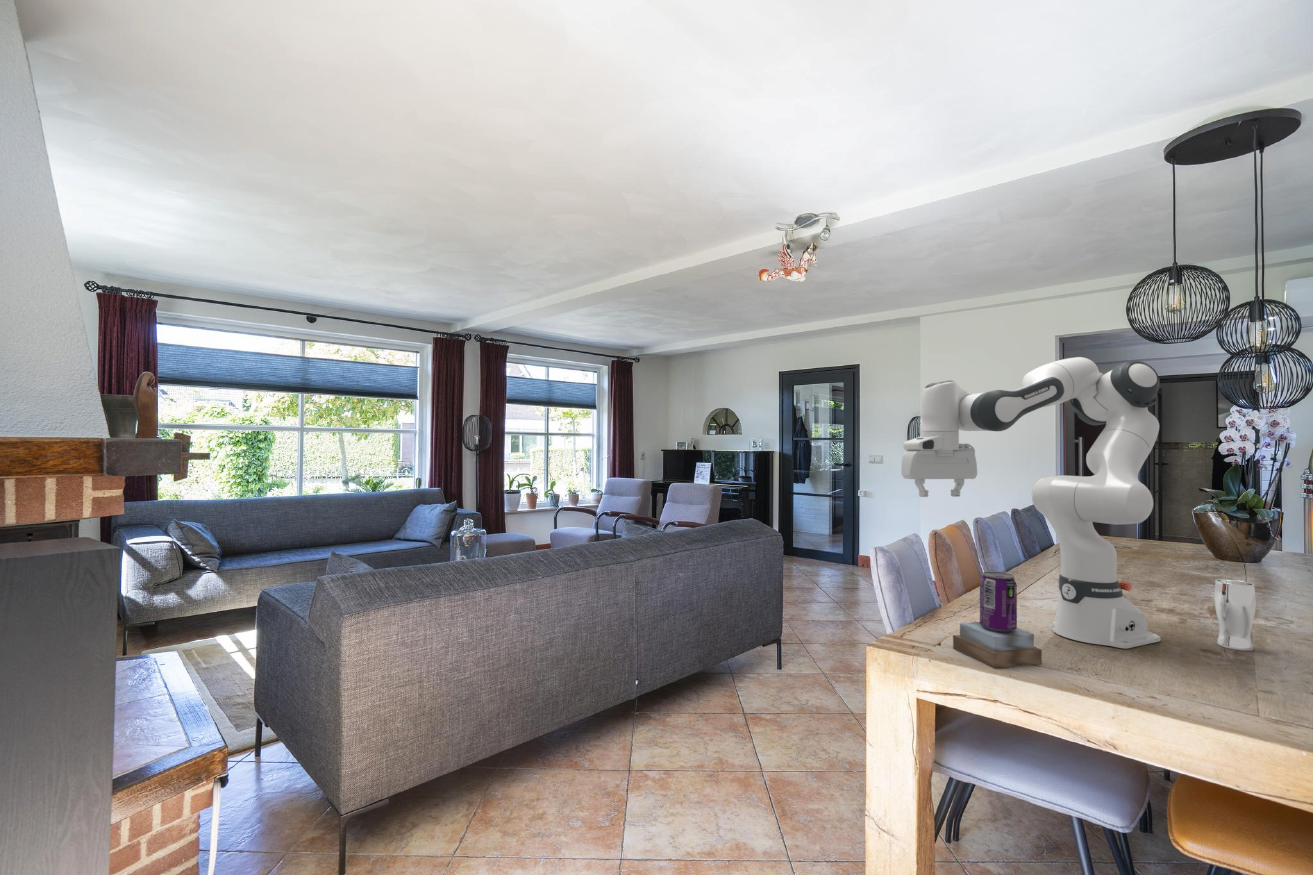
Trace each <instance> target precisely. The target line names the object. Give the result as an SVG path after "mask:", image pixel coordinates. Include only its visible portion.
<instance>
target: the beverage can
mask: <svg viewBox="0 0 1313 875" xmlns="http://www.w3.org/2000/svg"><path fill="white" fill-rule="evenodd" d="M981 574H982V576H981V578H980V580H979V622H980V624H981V625H982V626H984V627H985V628H987V629H989V630H992V631H996V632H1010V631H1013V630H1015V629H1017V628H1018V590H1017V589H1018V584H1017V582H1016V580H1015V575H1014V574H1011V573H1008V572H1002V571H983V572H982V573H981Z"/></svg>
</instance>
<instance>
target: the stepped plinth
mask: <svg viewBox="0 0 1313 875" xmlns="http://www.w3.org/2000/svg"><path fill="white" fill-rule="evenodd" d="M1034 641H1035V634H1034V633H1031V632H1029V631H1026V630H1023V629H1021V628H1018V627H1017V629H1015V630H1013V631H1010V632H996V631H992V630H989V629H987V628H985V627H984V626H982V625H981V624H980V621H974V622H960V623H959V634H954V635H952V649H953V650H955V651H957V652H960V653H962V654H963V655H966V656H968V657H970V658H972V659H974V660H977V661H978V662H981V663H982V664H984V665H987V666H989V667H991V668H993V669H997V668H1008V667H1009V668H1010V667H1019V666H1020V667H1021V666H1031V665H1040V664H1041V665H1042V663H1043V661H1042V658H1043V657H1042V656H1043V652H1042V651H1043V650H1042V649H1041V648H1039V647H1036V646H1035V642H1034Z"/></svg>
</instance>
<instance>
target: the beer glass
mask: <svg viewBox="0 0 1313 875" xmlns="http://www.w3.org/2000/svg"><path fill="white" fill-rule="evenodd" d="M1213 592H1214V593H1213V602H1214V607H1215V608H1214V609H1215V614H1216V618H1217V622H1218V623H1217V624H1218V636H1217V640H1216V644H1217V645H1218V646H1220V647H1222V648H1225V649H1230V650H1236V651H1243V652H1251V651H1252V652H1253V650H1254V646H1253V643H1252V636H1251V633H1252V626H1253V622H1254V618H1255V613H1256V608H1257V607H1256V606H1257V604H1256V603H1257V598H1256V589H1255V584H1254V583H1252V582H1249V581H1245V580H1238V579H1230V578H1228V579H1227V578H1217V579H1215V580H1214V591H1213Z"/></svg>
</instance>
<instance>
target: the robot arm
mask: <svg viewBox="0 0 1313 875" xmlns="http://www.w3.org/2000/svg"><path fill="white" fill-rule="evenodd" d="M1159 390H1160V377H1159V374H1158V373H1157V371H1156V369H1155V368H1154V367H1152V366H1151V365H1149V364H1148V363H1147V362H1144V361H1140V360H1130V361H1126V362H1122V363H1120V364H1119V365H1116V366H1115V367H1114V368H1112V369H1111V370H1110V371H1108V372H1106V373H1104V374H1103V372H1100V371H1099V367H1098V365H1096V363H1095V362H1094V361H1093V360H1091V359H1089V358H1087V357H1082V356H1077V357H1068V358H1063V359H1059V360H1055V361H1052V362H1048V363H1046V364H1043V365H1040V366H1038V367H1036V368H1034V369H1032V370H1030V371H1029V372H1027V373H1026V374H1024V377H1023V379H1022V383H1021V387H1019V388H1017V389H1015V390H1011V391H1010V390H1003V389H994V390H990V391H985V392H978V393H973V392H970V391H968V390H966V389H964V388H963V387H961V386H960V385H958V383H957V382H956V381H955V380H950V379H949V380H943V381H937V382H931V383H929V384H927V385H926V386H924V388H923V390H922V391H923V392H922V396H921V404H920V406H921V408H920V412H921V414H920V415H921V419H922V428H921V432H920V434H921V435H920V436H918V437H915V438H912V439H908V440H906V441H904V442H903V450H905V451H904V452H903V453H902V456H901V470H900V472H901V475H902V477H903V479H906V480H914V484H915V486H916V487H917V489H918V496H919V498H928V497H929V490H928V489H926V488H925V485H924V484H925V483H926V480H953V483H955V485H954V486H953V488H952V489H950V496H951V497H954V498H955V497H958V498H959V497H960V496H961V490H962V488H963V487H964V484H965V480H974V479H976V477H977V476H978V465H977V457H976V450H975V447H973V445H971V444H970V443H960V437H959V436H960V433H959V432H960V431H964V432H979V431H983V432H985V431H987V432H988V431H989V432H1003V431H1006V430H1008V429H1010V428H1011V427H1012V426H1014V425H1015V423H1017V422H1018V421H1019V419H1021V418H1022V417H1023V416H1026V414H1027V415H1028V414H1029V413H1031V412H1034V411H1036V410H1039V409H1041V408H1044V407H1045V408H1047V407H1051V406H1055V405H1059V404H1062V403H1065V402H1067V401H1069V405H1070V406H1071V407H1072V410H1073V412H1074V413H1075V415H1076V416H1077V417H1078V418H1079V419H1080V420H1081V421H1083V422H1084V423H1086V424H1087V425H1090V426H1100V425H1105V427H1104V428H1103V429H1102V431H1101V433H1099V435H1098V436H1097V438H1096V439H1095V441H1094V442H1093V444H1092V445H1091V447H1090V448H1089V450H1088V452H1087V453H1086V458H1085V461H1086V466H1087V468H1088V469H1089V471H1091V473H1092V474H1093V475H1091V476H1083V475H1082V476H1081V475H1064V474H1063V475H1062V474H1061V475H1060V474H1059V475H1052V476H1047V477H1042V478H1039V480H1037V481H1036V483H1035V484H1034V486H1033V487H1032V492H1031V501H1032V503H1033V506H1034V507H1035V509H1036V511H1038V513H1040V514H1042V516H1044V517H1045V518H1046V519H1047V521H1048V522H1049V524H1050V525H1051V527H1052V528H1053V530H1054V532H1055V535H1056V537H1057V540H1058V544H1059V553H1060V574H1059V576H1058V580H1057V582H1058V589H1059V592H1060V593H1059V594H1058V596H1057V604H1056V612H1055V613H1056V614H1055V620H1053V621H1052V626H1053V628H1052V631H1053V632H1054V633H1056V635H1059V636H1062V637H1064V638H1067V639H1070V640H1074V641H1078V642H1082V643H1087V644H1092V645H1093V644H1094V645H1100V646H1101V645H1102V646H1108V647H1109V646H1110V647H1114V648H1119V649H1126V650H1127V649H1131V648H1136V647H1140V646H1144V645H1149V644H1154V643H1159V642H1161V636H1159V635H1157V634H1156V633H1153V632H1151V631H1148V621H1147V617H1146V615H1145V614H1144V612H1143V611H1142V610H1140V609H1139V608H1138V607H1137V606H1136V605H1134V604H1133V603H1132V602H1130V601H1129V600H1128V599H1126V597H1124V593H1123V590H1124V591H1126V592H1130V591H1131V590H1132V589H1133V586H1132V584H1131V582H1128V581H1127V582H1125V581H1123V580H1122V581H1119V580H1117V577H1118V573H1117V572H1118V568H1117V565H1118V563H1117V561H1118V560H1117V559H1118V558H1117V557H1118V555H1117V551H1116V550H1117V549H1116V548H1115V547H1114V545H1113V543H1111V542H1110V541H1108V540H1106V539H1105V538H1103V537H1102V536H1101V535H1100V534H1099V533H1098V531H1097V530H1096V529H1095V526H1094V523H1099V524H1100V523H1101V524H1109V525H1118V526H1119V525H1133V524H1141V523H1143V522H1144V521H1146V520H1147V519H1148V518H1149V516H1150V515H1151V513H1152V511H1153V509H1154V498H1153V495H1152V493H1151V490H1149V488H1148V487H1147V486H1146V485H1145V484H1144V483H1142V482H1141V481H1140V480H1139V478H1138V477H1139V472H1140V470H1141V469H1142V466H1143V465H1144V463H1145V461H1146V460H1147V458H1148V456H1149V455H1150V453H1151V452H1152V450H1153V447H1154V446H1155V443H1156V440H1157V439H1158V438H1157V437H1158V435H1159V431H1160V423H1159V420H1158V419H1157V417H1156V416H1155V415H1154V414H1153V413H1151V412H1150V411H1149V407H1152V406H1154V405H1155V404H1156V403H1157V401H1158V397H1157V394H1158V392H1159Z"/></svg>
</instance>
